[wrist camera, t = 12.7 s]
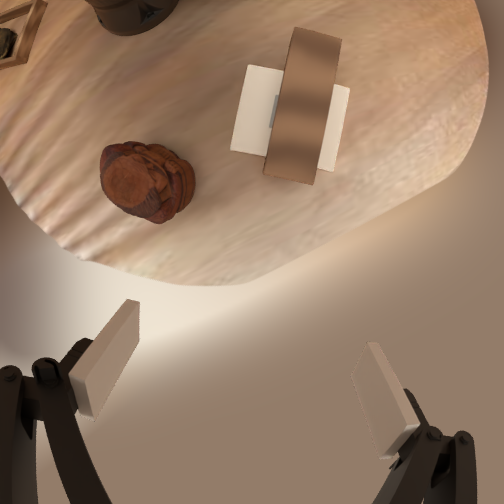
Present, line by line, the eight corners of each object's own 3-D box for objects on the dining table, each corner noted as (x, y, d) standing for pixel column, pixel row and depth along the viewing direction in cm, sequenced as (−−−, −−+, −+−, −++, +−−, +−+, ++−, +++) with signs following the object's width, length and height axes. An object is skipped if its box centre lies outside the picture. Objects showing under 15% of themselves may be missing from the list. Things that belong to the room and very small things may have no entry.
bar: (290, 41, 30) (294, 26, 25) (332, 52, 30) (342, 39, 26) (262, 171, 36) (263, 174, 31) (305, 181, 36) (313, 185, 31)
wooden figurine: (210, 178, 45) (181, 192, 28) (186, 209, 47) (147, 241, 30) (153, 135, 43) (97, 127, 26) (131, 167, 44) (69, 177, 27)
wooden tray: (-7, 24, 31) (-17, 21, 27) (47, 3, 32) (38, -2, 28) (-24, 76, 36) (-34, 75, 32) (26, 62, 37) (15, 59, 33)
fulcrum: (248, 66, 39) (246, 46, 31) (348, 89, 40) (367, 76, 31) (230, 149, 43) (223, 148, 35) (331, 171, 44) (348, 175, 36)
